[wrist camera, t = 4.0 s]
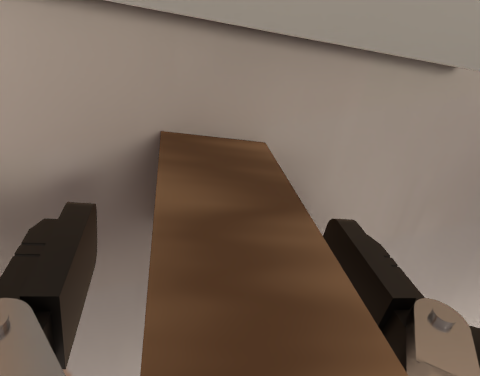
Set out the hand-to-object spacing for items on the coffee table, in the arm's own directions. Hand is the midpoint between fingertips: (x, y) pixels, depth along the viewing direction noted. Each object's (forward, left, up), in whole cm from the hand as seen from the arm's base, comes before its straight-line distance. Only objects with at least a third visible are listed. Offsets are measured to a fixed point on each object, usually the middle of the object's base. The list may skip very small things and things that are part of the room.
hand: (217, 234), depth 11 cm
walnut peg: (0, 0, -3) cm, 3 cm away
